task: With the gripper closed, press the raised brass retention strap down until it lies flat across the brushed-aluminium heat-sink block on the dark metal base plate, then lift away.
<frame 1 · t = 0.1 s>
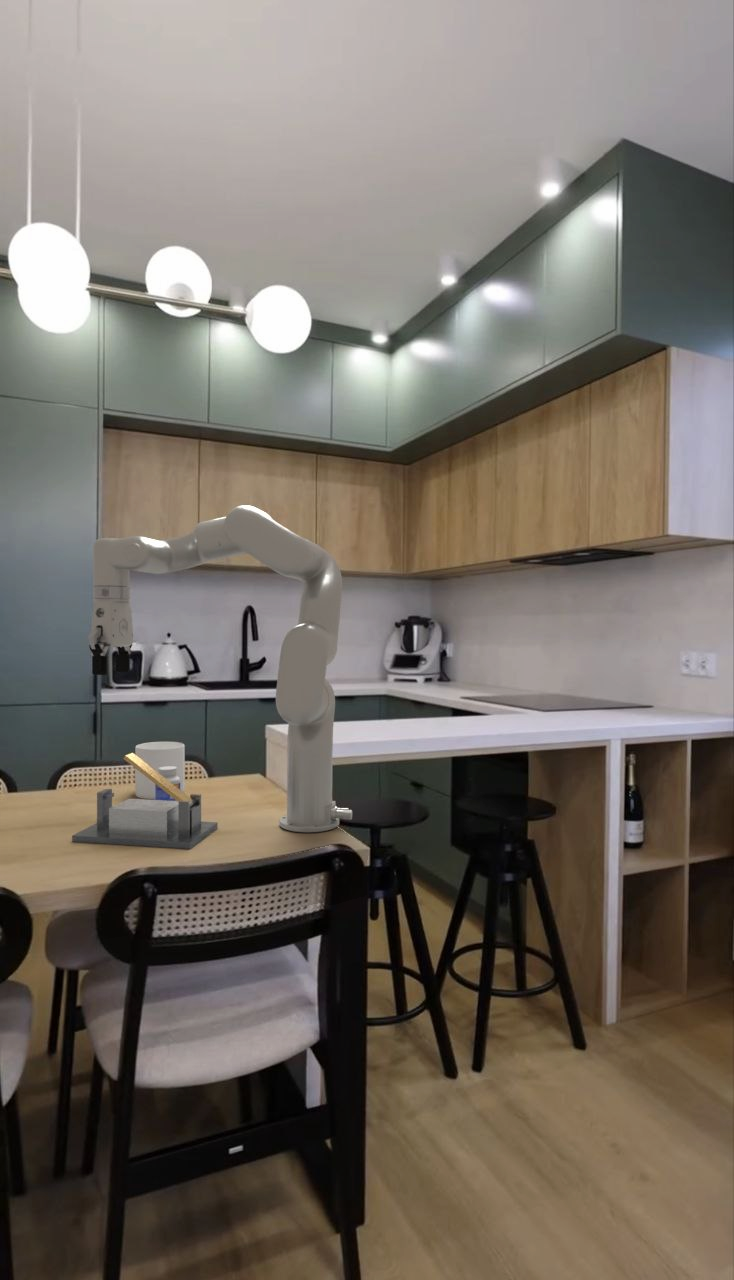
hand: (111, 673, 158), 31 cm above the table, fingers open, 9 cm apart
cup: (160, 794, 178), on the table
strap: (159, 780, 142), point 11 cm above the table, hinge at 35.0°
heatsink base: (147, 834, 143), on the table
pill bottle: (167, 811, 162), on the table
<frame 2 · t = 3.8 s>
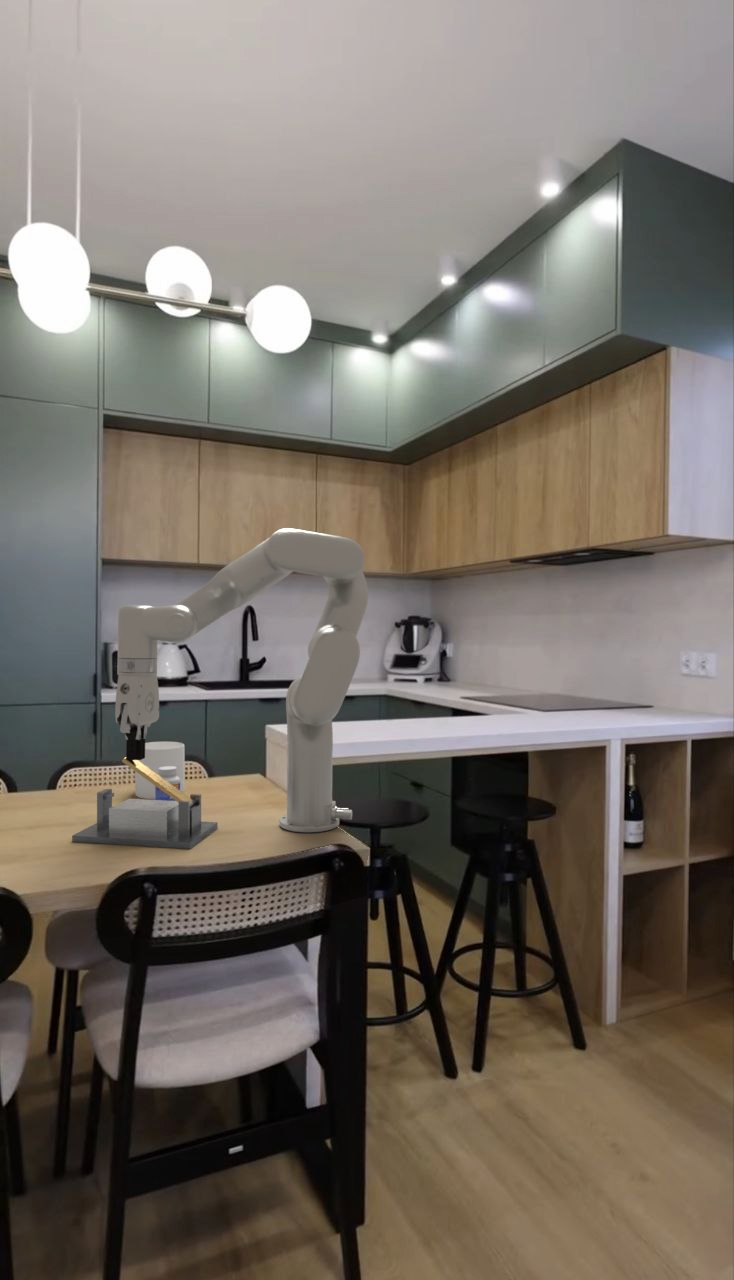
hand: (135, 758, 143), 15 cm above the table, fingers closed
strap: (158, 781, 142), point 11 cm above the table, hinge at 32.7°, touching gripper
everything else where it was.
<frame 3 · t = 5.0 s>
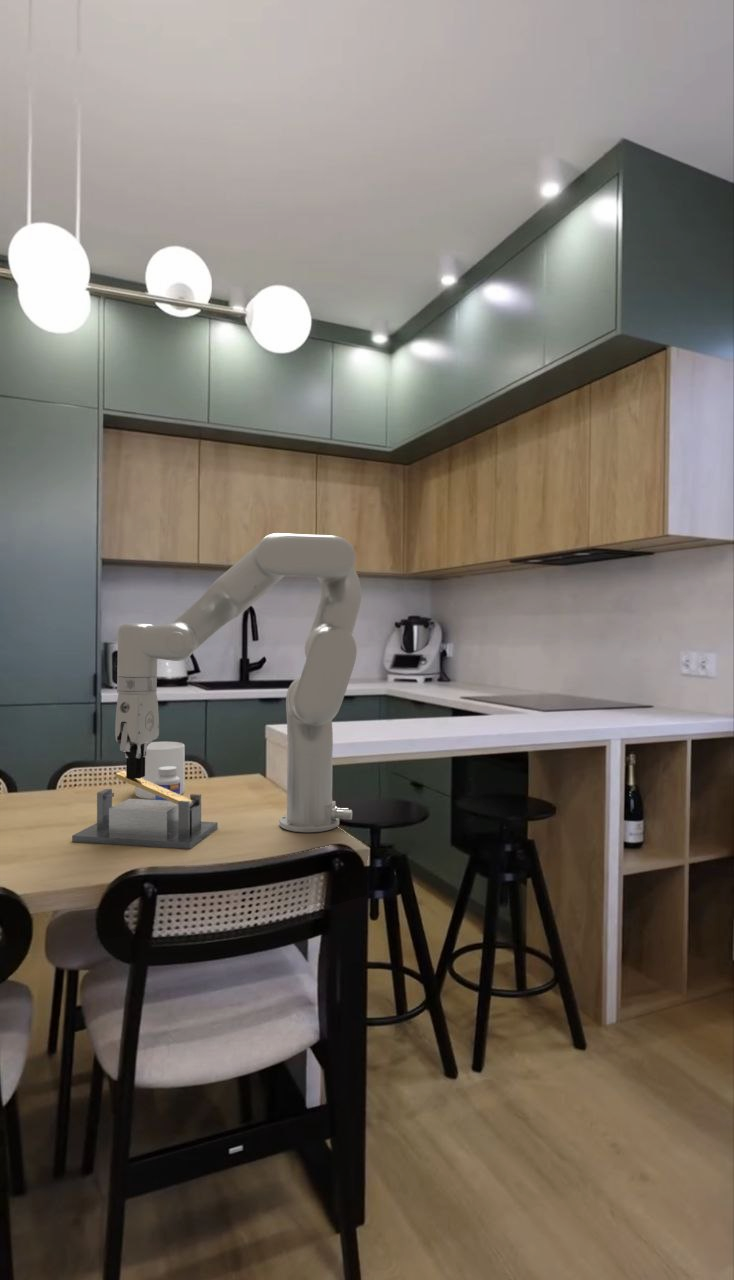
hand: (135, 777, 143), 12 cm above the table, fingers closed
strap: (155, 789, 143), point 9 cm above the table, hinge at 20.0°, touching gripper
everything else where it was.
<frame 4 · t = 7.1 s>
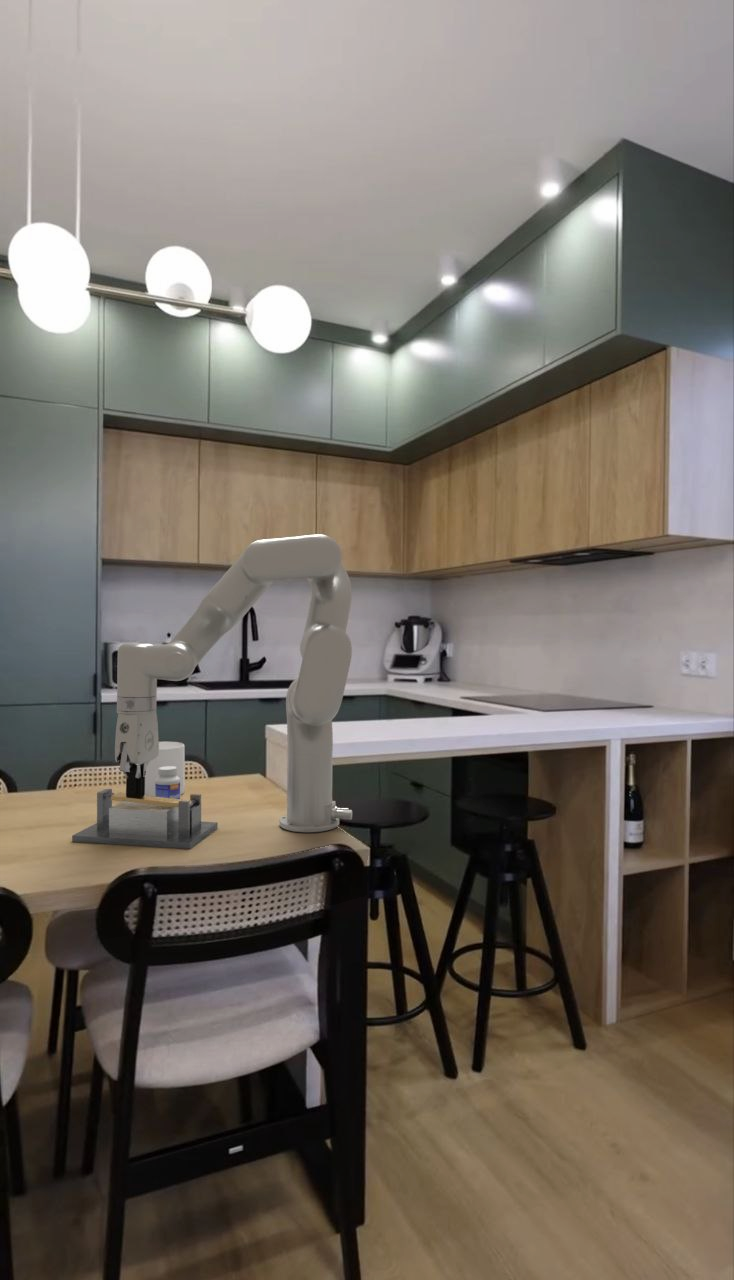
hand: (135, 796, 143), 8 cm above the table, fingers closed
strap: (153, 800, 143), point 7 cm above the table, hinge at 3.2°, touching gripper
everything else where it was.
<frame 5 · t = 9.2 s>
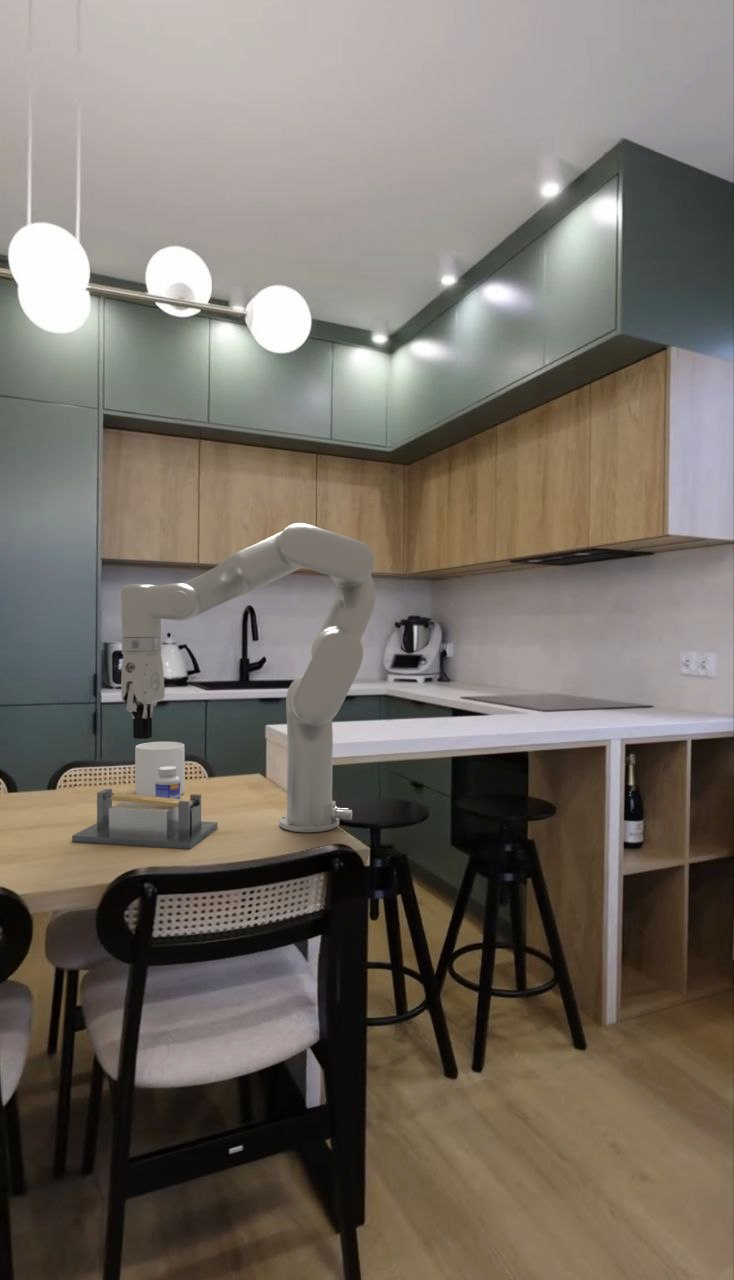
hand: (142, 737, 144), 19 cm above the table, fingers closed
strap: (153, 800, 143), point 7 cm above the table, hinge at 3.2°
everything else where it was.
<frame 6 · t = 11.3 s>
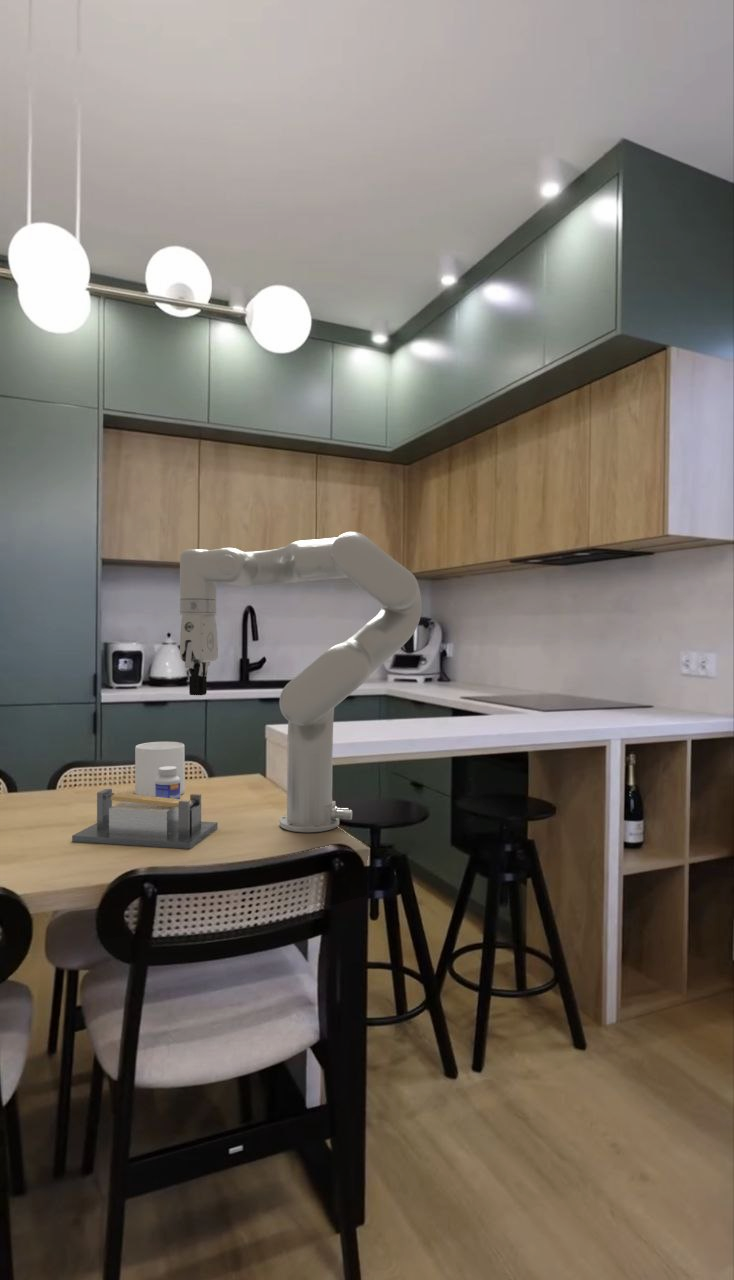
hand: (197, 694, 152), 27 cm above the table, fingers closed
nothing on the table moved.
at the end: strap at +3° (first picture: +35°); the gripper is holding nothing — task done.
